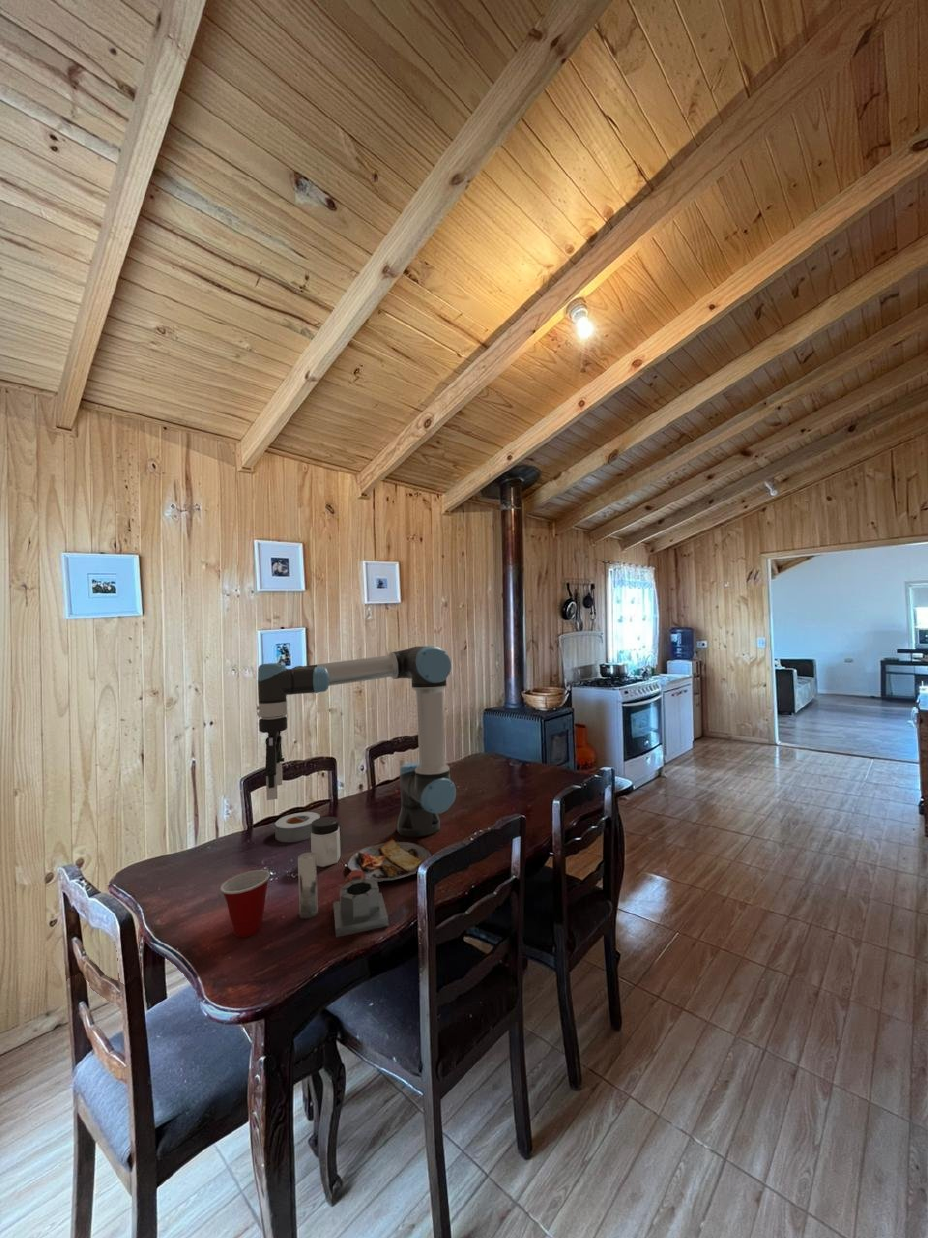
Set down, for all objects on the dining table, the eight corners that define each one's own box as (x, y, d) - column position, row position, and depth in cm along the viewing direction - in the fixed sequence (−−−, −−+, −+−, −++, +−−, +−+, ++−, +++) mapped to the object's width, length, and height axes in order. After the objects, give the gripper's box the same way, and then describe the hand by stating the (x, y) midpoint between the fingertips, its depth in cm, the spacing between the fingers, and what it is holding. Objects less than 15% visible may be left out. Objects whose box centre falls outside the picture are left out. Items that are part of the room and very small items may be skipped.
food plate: (336, 862, 149) (336, 851, 149) (403, 841, 162) (403, 831, 163) (372, 897, 129) (372, 884, 129) (445, 870, 142) (444, 858, 142)
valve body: (379, 892, 130) (378, 865, 130) (388, 926, 114) (387, 895, 115) (333, 901, 126) (332, 874, 127) (335, 937, 111) (334, 906, 111)
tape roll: (265, 841, 169) (265, 826, 169) (293, 824, 183) (292, 810, 183) (303, 844, 164) (303, 829, 164) (328, 827, 179) (328, 813, 179)
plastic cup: (240, 916, 122) (239, 867, 122) (280, 918, 120) (278, 868, 120) (211, 943, 111) (209, 889, 111) (254, 946, 109) (252, 891, 110)
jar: (315, 869, 145) (314, 829, 145) (308, 860, 151) (306, 821, 152) (344, 861, 150) (343, 821, 150) (336, 852, 156) (334, 814, 157)
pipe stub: (317, 907, 124) (316, 851, 125) (318, 916, 120) (316, 858, 121) (299, 910, 123) (297, 854, 123) (299, 920, 119) (297, 861, 119)
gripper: (264, 712, 150) (266, 781, 150) (252, 725, 126) (254, 807, 126) (290, 710, 152) (292, 778, 152) (282, 722, 128) (284, 804, 128)
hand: (274, 792), depth 139 cm, fingers open, 13 cm apart
